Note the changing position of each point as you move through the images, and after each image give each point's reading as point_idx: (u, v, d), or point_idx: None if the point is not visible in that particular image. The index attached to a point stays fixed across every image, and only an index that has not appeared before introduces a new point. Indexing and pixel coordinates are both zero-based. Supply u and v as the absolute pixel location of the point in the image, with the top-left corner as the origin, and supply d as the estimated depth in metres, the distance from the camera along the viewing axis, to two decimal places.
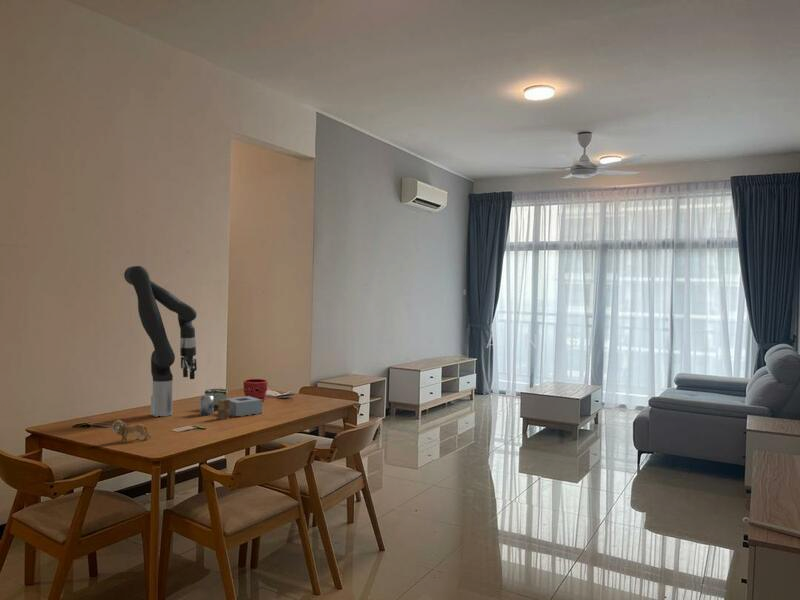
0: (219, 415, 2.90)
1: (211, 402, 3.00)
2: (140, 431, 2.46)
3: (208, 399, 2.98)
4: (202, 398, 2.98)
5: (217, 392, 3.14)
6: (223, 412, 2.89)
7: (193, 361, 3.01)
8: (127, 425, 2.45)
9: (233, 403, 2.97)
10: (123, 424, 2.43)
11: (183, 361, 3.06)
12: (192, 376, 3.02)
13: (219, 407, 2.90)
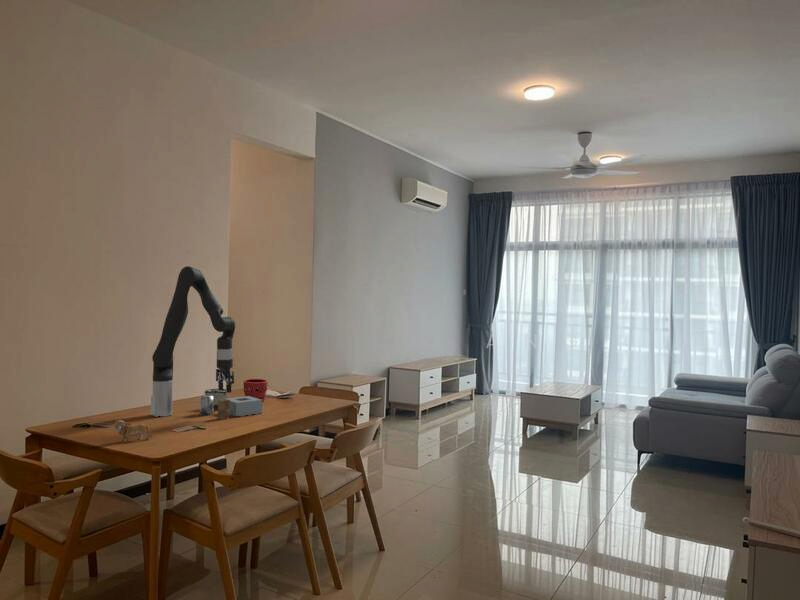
0: (219, 415, 2.90)
1: (211, 402, 3.00)
2: (142, 431, 2.46)
3: (208, 399, 2.98)
4: (202, 398, 2.98)
5: (217, 392, 3.14)
6: (223, 412, 2.89)
7: (230, 374, 2.86)
8: (129, 425, 2.45)
9: (233, 403, 2.97)
10: (125, 424, 2.43)
11: (219, 373, 2.91)
12: (229, 389, 2.88)
13: (219, 407, 2.90)
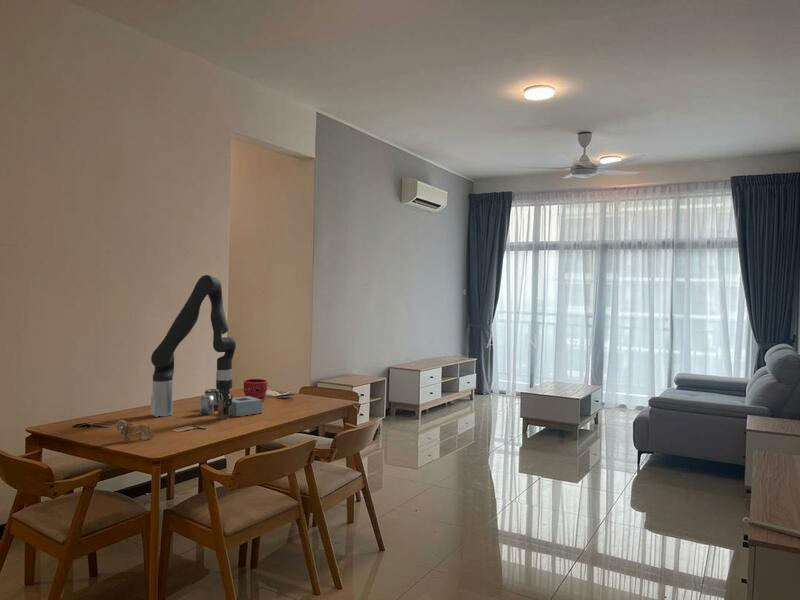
0: (219, 415, 2.90)
1: (211, 402, 3.00)
2: (143, 431, 2.46)
3: (208, 399, 2.98)
4: (202, 398, 2.98)
5: None
6: (223, 412, 2.89)
7: (229, 397, 2.86)
8: (130, 425, 2.45)
9: (233, 403, 2.97)
10: (126, 424, 2.44)
11: (219, 394, 2.91)
12: (226, 411, 2.89)
13: (219, 407, 2.90)
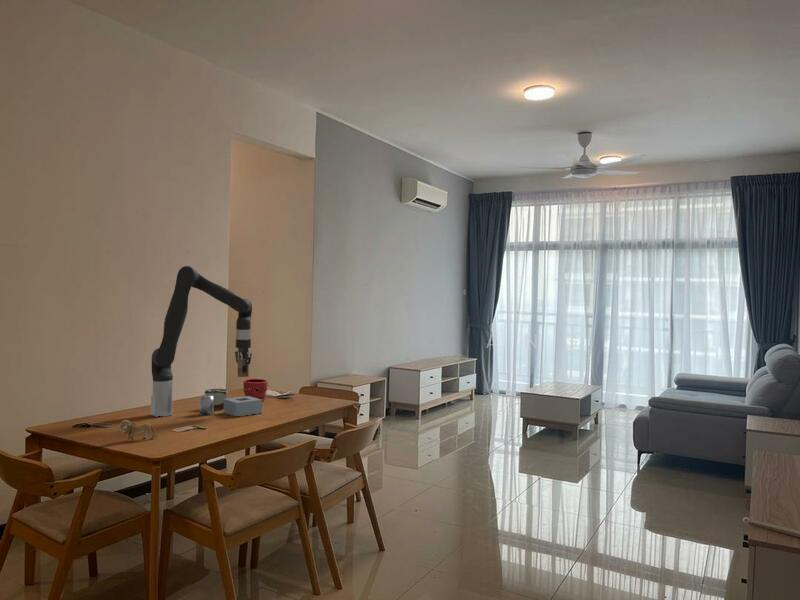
0: (238, 373, 3.03)
1: (211, 402, 3.00)
2: (147, 430, 2.47)
3: (208, 399, 2.98)
4: (202, 398, 2.98)
5: (217, 392, 3.14)
6: (242, 370, 3.02)
7: (248, 356, 2.99)
8: (134, 425, 2.46)
9: (233, 403, 2.97)
10: (130, 424, 2.44)
11: (238, 353, 3.04)
12: (245, 370, 3.02)
13: (238, 365, 3.03)
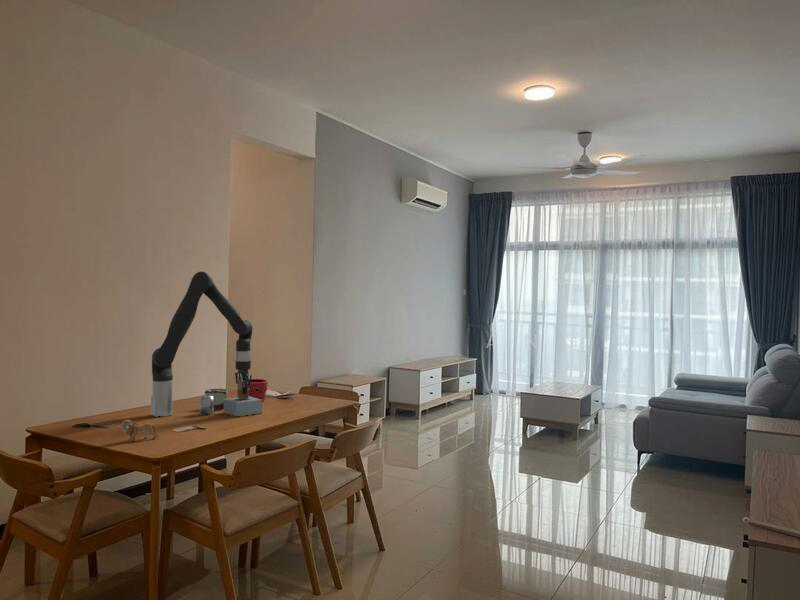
0: (238, 395, 3.04)
1: (211, 402, 3.00)
2: (149, 430, 2.48)
3: (208, 399, 2.98)
4: (202, 398, 2.98)
5: (217, 392, 3.14)
6: (242, 392, 3.02)
7: (248, 377, 3.00)
8: (136, 424, 2.46)
9: (233, 403, 2.97)
10: (132, 423, 2.44)
11: (238, 374, 3.04)
12: (245, 391, 3.02)
13: (238, 387, 3.04)
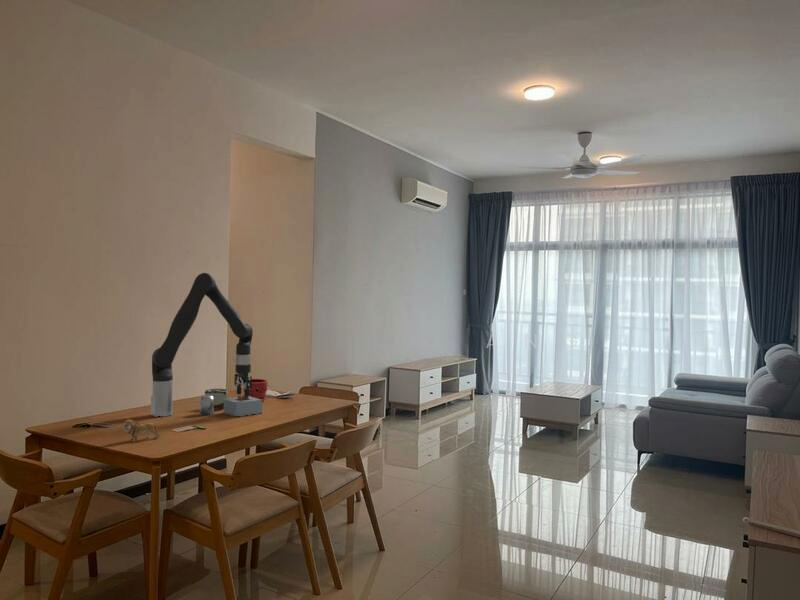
0: None
1: (211, 402, 3.00)
2: (150, 430, 2.48)
3: (208, 399, 2.98)
4: (202, 398, 2.98)
5: (217, 392, 3.14)
6: None
7: (249, 378, 2.99)
8: (137, 424, 2.46)
9: (233, 403, 2.97)
10: (134, 423, 2.45)
11: (238, 378, 3.04)
12: (247, 393, 3.00)
13: None
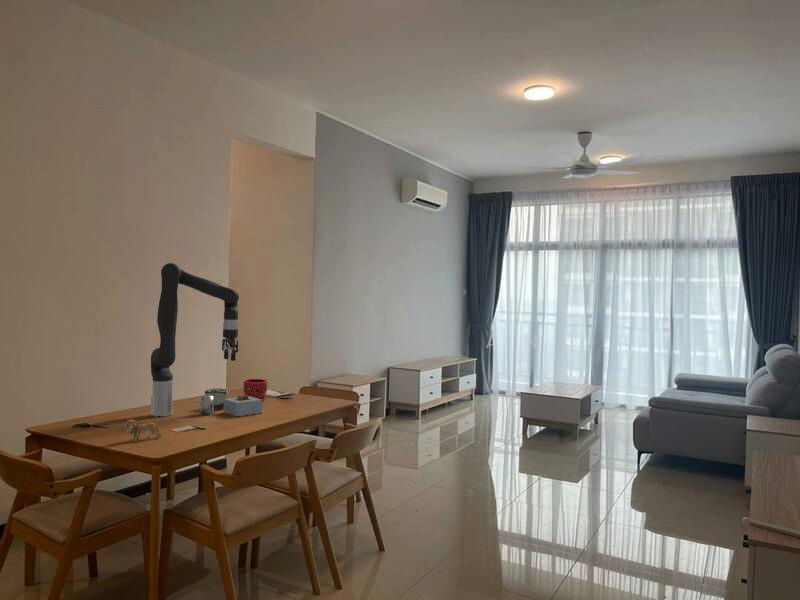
0: None
1: (211, 402, 3.00)
2: (152, 430, 2.48)
3: (208, 399, 2.98)
4: (202, 398, 2.98)
5: (217, 392, 3.14)
6: None
7: (235, 343, 3.04)
8: (139, 424, 2.47)
9: (233, 403, 2.97)
10: (136, 423, 2.45)
11: (225, 343, 3.09)
12: (233, 358, 3.05)
13: None
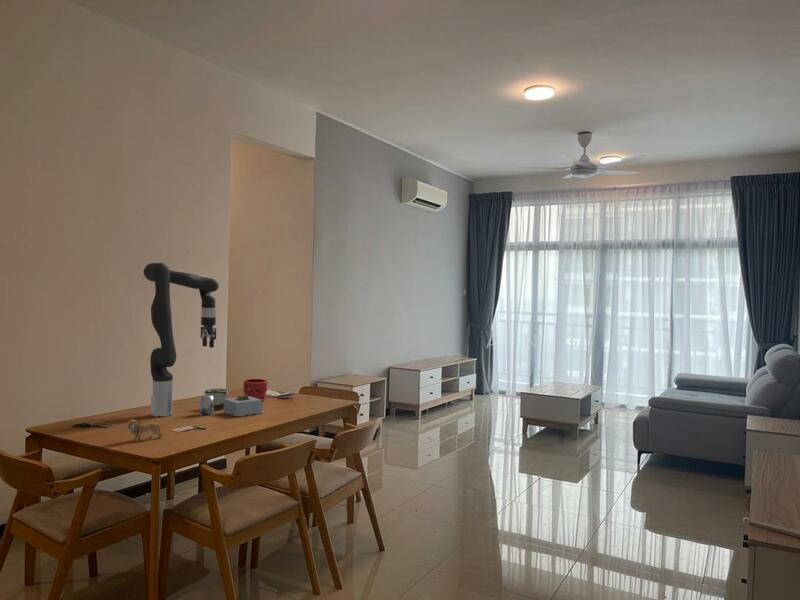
0: None
1: (211, 402, 3.00)
2: (154, 430, 2.49)
3: (208, 399, 2.98)
4: (202, 398, 2.98)
5: (217, 392, 3.14)
6: None
7: (213, 330, 3.14)
8: (141, 424, 2.47)
9: (233, 403, 2.97)
10: (137, 423, 2.45)
11: (203, 330, 3.19)
12: (211, 344, 3.15)
13: None
